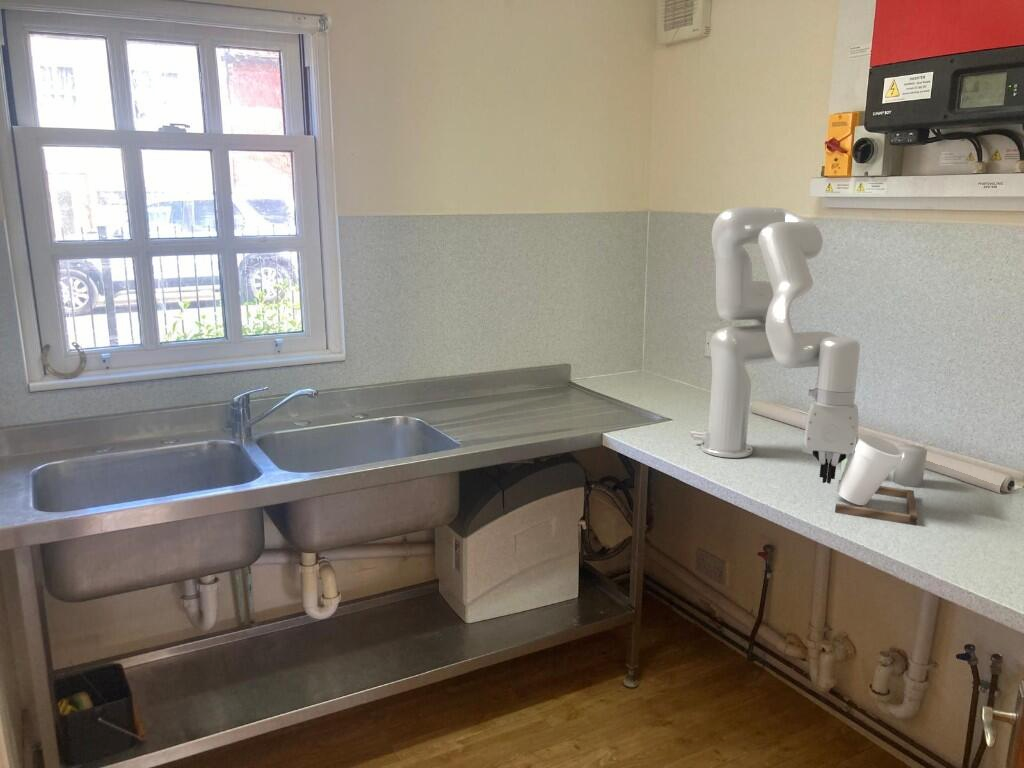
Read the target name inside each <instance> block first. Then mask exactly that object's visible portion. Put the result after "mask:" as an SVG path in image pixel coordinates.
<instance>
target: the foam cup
mask: <svg viewBox="0 0 1024 768" xmlns="http://www.w3.org/2000/svg"><path fill="white" fill-rule="evenodd" d="M897 446H898V445H895V444H894V443H892V442H891V441H889V440H887V439H886V438H883V437H881V436H878V435H876V434H874V433H868V432H864V431H862V432H858V437H857V444H856V447H855V452H854V453H852V454H850V455H849V457H848V460H847V463H846V466H845V469H844V471H843V473H842V474H841V478H840V479H839V480H840V483H839V482H838V485H837V488H836V492H837V494H838V495H839V496H840V497H842V499H844V500H846V501H847V502H849V503H852V504H854V505H856V506H866V505H867V503H869V501H870V500H871V499H872V498H873V496H874V495H875V492H876V491H877V490H878V488H879V487H880V486H882V484H884V482H885V481H886V480H887V478H888V476H889V475H890V474H891V472H892V471H894V467H895V466H897V465H898V463H899V461H900V460H901V458H902V456H903V452H902V451H901V450H900V449H899V448H898V447H897Z"/></svg>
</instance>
